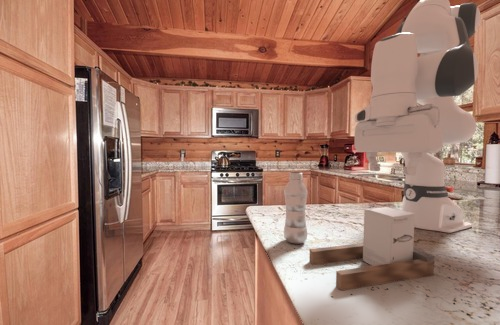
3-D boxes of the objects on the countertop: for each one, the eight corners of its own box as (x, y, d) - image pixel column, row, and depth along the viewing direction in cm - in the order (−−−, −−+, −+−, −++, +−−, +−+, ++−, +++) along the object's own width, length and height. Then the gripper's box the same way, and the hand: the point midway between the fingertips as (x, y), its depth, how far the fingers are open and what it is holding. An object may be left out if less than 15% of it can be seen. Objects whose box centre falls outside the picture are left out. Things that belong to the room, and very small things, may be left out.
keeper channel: (388, 251, 62) (388, 236, 62) (434, 275, 51) (434, 256, 50) (309, 261, 57) (309, 245, 56) (340, 290, 45) (341, 269, 45)
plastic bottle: (302, 248, 64) (303, 174, 63) (279, 243, 68) (280, 172, 67) (310, 240, 70) (311, 172, 69) (288, 236, 73) (289, 171, 72)
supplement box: (389, 276, 50) (391, 216, 50) (361, 260, 57) (363, 208, 56) (414, 269, 53) (416, 213, 52) (384, 255, 60) (385, 205, 59)
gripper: (453, 102, 44) (450, 177, 45) (370, 116, 64) (369, 168, 64) (426, 100, 42) (423, 179, 43) (350, 116, 62) (349, 169, 63)
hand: (390, 172), depth 54 cm, fingers open, 8 cm apart
